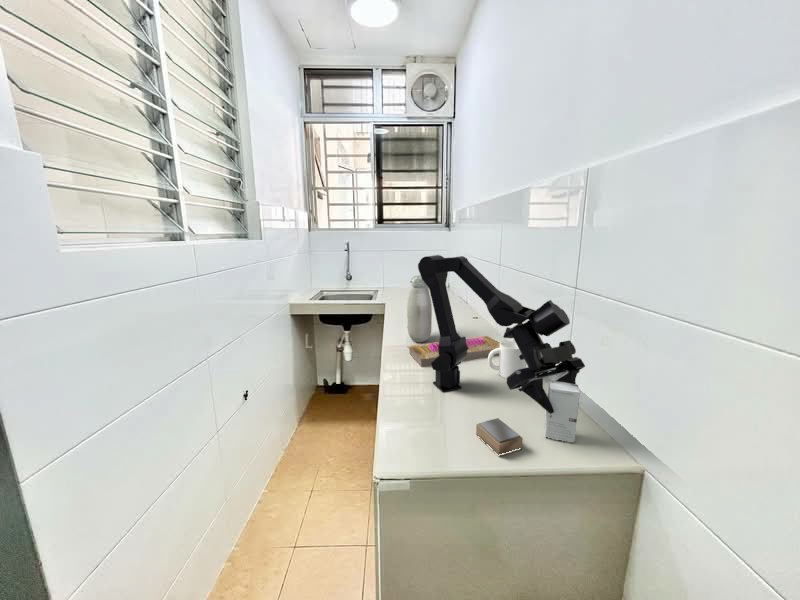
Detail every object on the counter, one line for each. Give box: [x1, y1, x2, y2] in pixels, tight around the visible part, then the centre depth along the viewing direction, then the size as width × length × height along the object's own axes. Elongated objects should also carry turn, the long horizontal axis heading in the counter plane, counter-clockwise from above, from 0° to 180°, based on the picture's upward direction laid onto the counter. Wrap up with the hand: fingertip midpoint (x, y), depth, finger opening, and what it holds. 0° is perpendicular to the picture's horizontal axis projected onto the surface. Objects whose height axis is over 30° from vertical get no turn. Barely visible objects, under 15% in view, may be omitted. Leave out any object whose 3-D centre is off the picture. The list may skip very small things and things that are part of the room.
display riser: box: [475, 417, 524, 455], centre depth 72 cm, size 6×8×3 cm
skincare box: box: [544, 380, 581, 443], centre depth 73 cm, size 6×4×12 cm
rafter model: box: [406, 335, 500, 368], centre depth 123 cm, size 35×14×6 cm, turn 107°
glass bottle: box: [406, 275, 433, 343], centre depth 137 cm, size 10×10×28 cm
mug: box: [487, 339, 528, 380], centre depth 105 cm, size 12×8×10 cm
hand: (565, 409), depth 72 cm, fingers closed on skincare box, 7 cm apart
